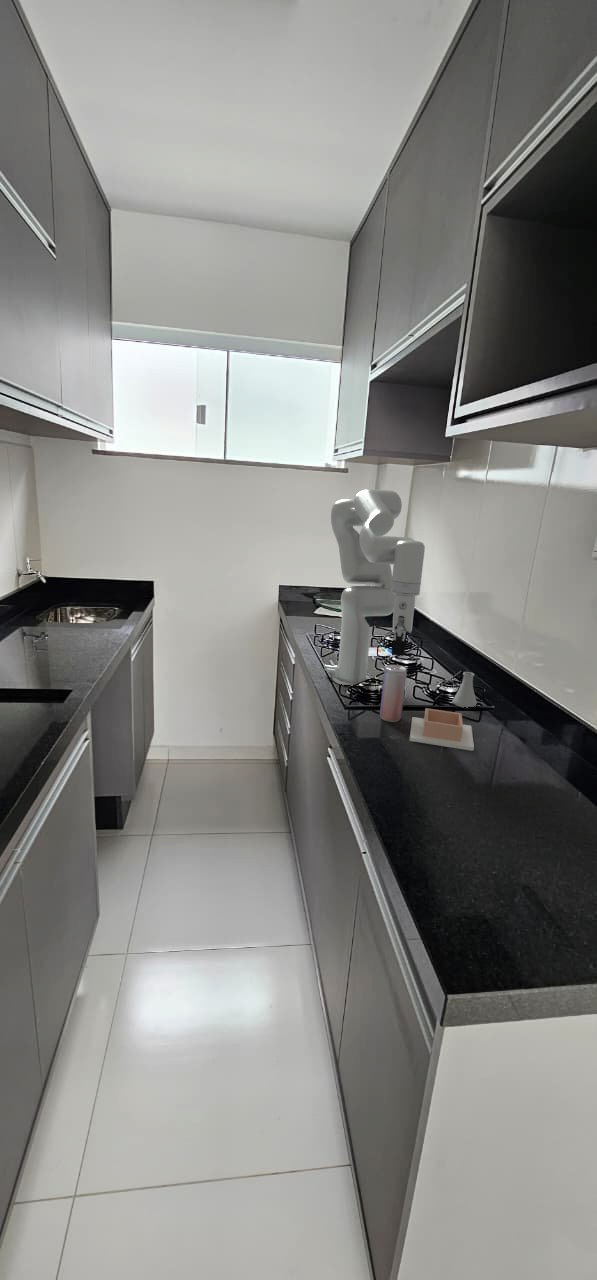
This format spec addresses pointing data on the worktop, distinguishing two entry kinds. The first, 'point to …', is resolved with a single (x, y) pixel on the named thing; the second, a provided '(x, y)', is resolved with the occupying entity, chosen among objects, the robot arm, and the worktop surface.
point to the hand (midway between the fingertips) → (398, 650)
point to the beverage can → (393, 693)
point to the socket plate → (442, 730)
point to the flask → (465, 692)
